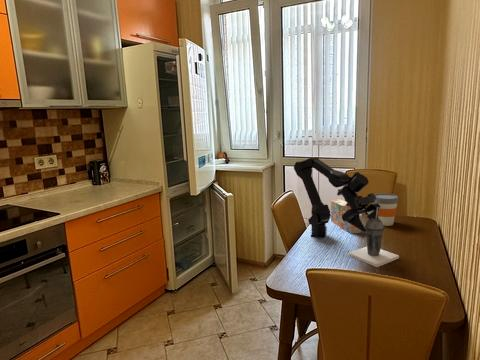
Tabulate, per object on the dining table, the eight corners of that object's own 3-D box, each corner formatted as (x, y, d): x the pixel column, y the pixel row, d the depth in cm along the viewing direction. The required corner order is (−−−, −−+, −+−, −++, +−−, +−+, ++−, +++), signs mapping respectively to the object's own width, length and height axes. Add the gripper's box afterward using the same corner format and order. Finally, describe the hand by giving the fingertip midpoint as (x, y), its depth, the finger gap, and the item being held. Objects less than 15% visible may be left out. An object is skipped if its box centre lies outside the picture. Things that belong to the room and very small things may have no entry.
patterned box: (361, 232, 173) (362, 209, 170) (350, 234, 171) (350, 210, 169) (340, 220, 193) (341, 198, 191) (330, 221, 192) (330, 199, 190)
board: (348, 255, 146) (348, 252, 146) (370, 247, 153) (370, 245, 153) (376, 267, 134) (376, 264, 134) (398, 258, 141) (398, 255, 141)
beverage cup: (360, 252, 145) (362, 206, 142) (372, 249, 148) (374, 204, 145) (373, 258, 139) (376, 210, 135) (386, 255, 142) (389, 208, 138)
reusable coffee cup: (399, 222, 186) (401, 195, 183) (392, 228, 177) (394, 200, 174) (376, 218, 194) (377, 192, 191) (368, 224, 185) (369, 196, 182)
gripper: (348, 190, 139) (369, 224, 132) (377, 184, 148) (399, 215, 141) (332, 205, 147) (352, 237, 140) (362, 198, 156) (382, 228, 149)
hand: (372, 229), depth 142 cm, fingers open, 9 cm apart
